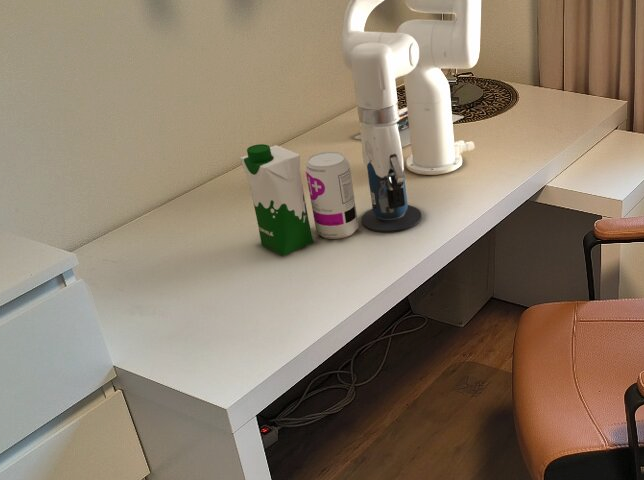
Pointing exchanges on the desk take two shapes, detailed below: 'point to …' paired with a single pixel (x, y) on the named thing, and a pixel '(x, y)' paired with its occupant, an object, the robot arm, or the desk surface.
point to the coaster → (391, 221)
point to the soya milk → (278, 197)
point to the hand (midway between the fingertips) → (389, 199)
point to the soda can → (383, 196)
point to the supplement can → (331, 195)
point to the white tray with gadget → (404, 126)
